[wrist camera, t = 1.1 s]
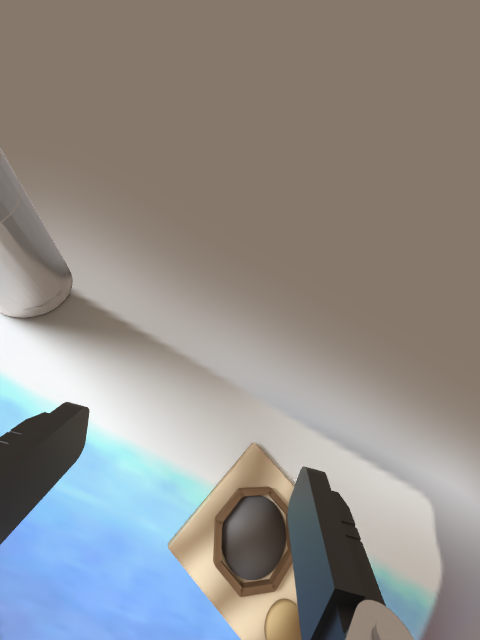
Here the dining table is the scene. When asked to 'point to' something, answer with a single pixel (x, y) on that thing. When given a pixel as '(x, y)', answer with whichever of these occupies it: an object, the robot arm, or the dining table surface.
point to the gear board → (245, 550)
